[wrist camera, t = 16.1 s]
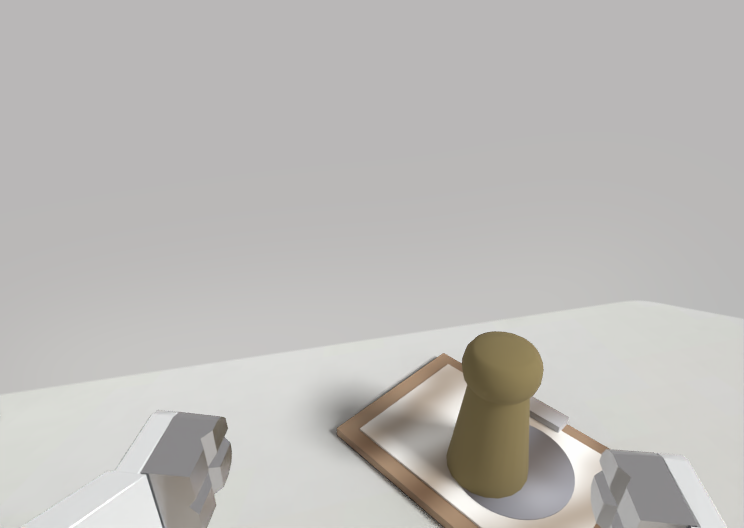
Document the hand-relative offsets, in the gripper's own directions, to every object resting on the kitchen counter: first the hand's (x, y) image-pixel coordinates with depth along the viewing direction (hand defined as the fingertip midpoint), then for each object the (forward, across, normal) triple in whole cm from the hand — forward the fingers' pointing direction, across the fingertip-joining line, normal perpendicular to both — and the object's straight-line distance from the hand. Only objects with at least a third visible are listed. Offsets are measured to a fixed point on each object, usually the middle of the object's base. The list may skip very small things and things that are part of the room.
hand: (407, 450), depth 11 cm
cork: (+18, -6, +22) cm, 30 cm away
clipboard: (+20, -7, +23) cm, 31 cm away
